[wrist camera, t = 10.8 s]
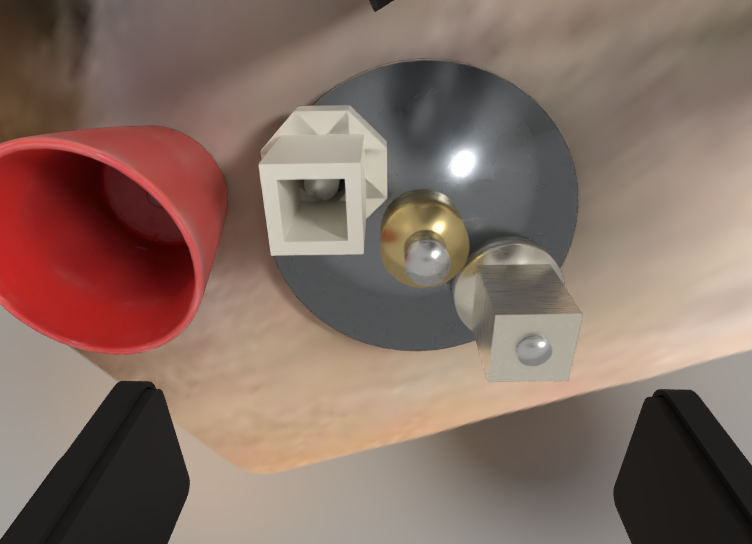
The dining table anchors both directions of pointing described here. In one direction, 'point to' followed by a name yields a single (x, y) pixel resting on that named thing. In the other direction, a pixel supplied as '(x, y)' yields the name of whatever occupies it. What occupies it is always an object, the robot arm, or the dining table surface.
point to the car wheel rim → (379, 3)
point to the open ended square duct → (322, 161)
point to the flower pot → (108, 234)
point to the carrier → (455, 224)
